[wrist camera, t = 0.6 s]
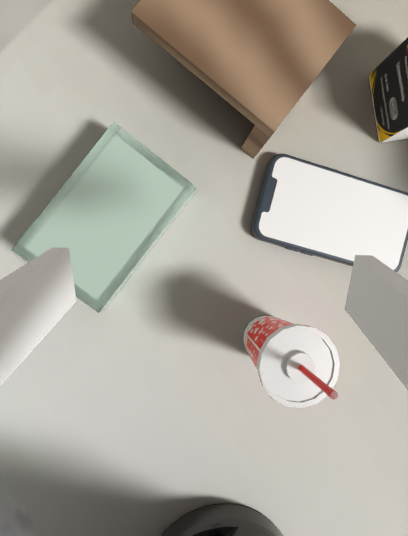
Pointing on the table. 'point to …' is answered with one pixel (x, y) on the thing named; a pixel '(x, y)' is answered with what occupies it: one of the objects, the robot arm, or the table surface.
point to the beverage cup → (292, 361)
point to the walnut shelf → (249, 50)
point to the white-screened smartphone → (330, 213)
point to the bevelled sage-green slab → (109, 215)
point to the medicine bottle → (391, 95)
